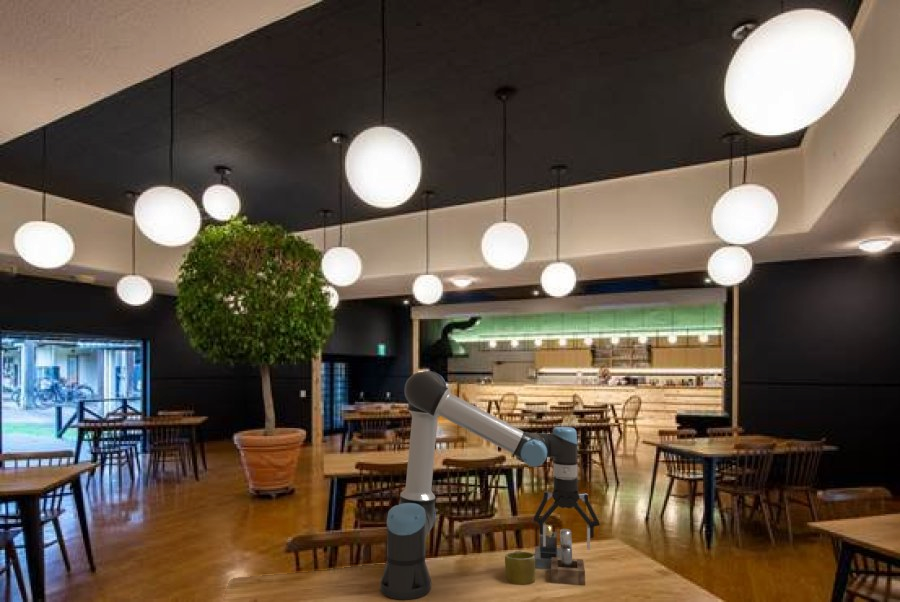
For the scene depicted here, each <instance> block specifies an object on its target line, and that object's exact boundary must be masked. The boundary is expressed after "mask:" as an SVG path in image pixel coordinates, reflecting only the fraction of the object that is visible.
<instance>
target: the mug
mask: <svg viewBox="0 0 900 602" xmlns="http://www.w3.org/2000/svg"><path fill="white" fill-rule="evenodd" d="M504 567H505V574H506V579H507V581H508V582H509V583H512V584H514V585H516V586H517V585H518V586H528V585H532V584H534V583H535V582H536V569H535V554H534V553H532V552H527V551H521V550H517V551H516V550H515V552H508V553H506V554H505V557H504Z"/></svg>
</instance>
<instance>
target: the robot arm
mask: <svg viewBox="0 0 900 602" xmlns="http://www.w3.org/2000/svg"><path fill="white" fill-rule="evenodd" d="M404 396H405V398H406V400H407V402H408V412H409V413H410V414H411V426H410V437H409V446H408V457H407V458H408V459H407V468H406V469H407V470H406V479H405V480H406V481H405V488H404V490H403V491H401V492H400V493H399V494H400V495H399V503H398V505H396V504H395V505H394V506H392V507H391V508H390V509H389V510H388V512H387V519H386V563H385V566H384V570H383V573H382V576H381V580H380V593H381V594H382V595H383V596H385V597H387V598H390V599H394V600H403V601H404V600H405V601H406V600H414V599H418V598H422V597H424V596H426V595H428V593H430V592H431V589H432V579H431V575H430V573H429V570H428V566H427V563H426V539H427V536H428V535H429V532H431V530H432V529H433V527H434V525H435V523H436V518H437V515H436V514H437V512H436V511H437V510H436V507H435V504H436V495H435V494H434V493H433V491H432V489H433V488H432V487H433V486H432V485H433V476H434V474H433V473H434V465H435V464H434V462H435V453H436V452H435V451H436V443H437V442H436V441H437V431H438V430H437V429H438V419H439V417H442V418H444V419H446V420H447V421H449V422H451V423H453V424H455V425H457V426H458V427H460V428H463V429H464V430H467V431H468V432H469V433H472V434H474V435H476V436H478V437H480V438H482V439H483V440H485V441H487V442H490V443H491V444H493V445H495V446H497V447H499V448H500V449H502V450H505V451H506V452H508V453H510V454H512V455H513V456H515V457H516V458H519V459H520V460H522V461H523V462H524V464H526V465H527V466H530V467H533V468H534V467H535V468H537V467H540V466H541V465H543V464H544V463H545V461H546V459H547V458H549V459H550V458H553V476H554V477H553V491H552V492H550V491H548V490H544V491H543V497H542V500H541V502H540V503H539V506H538V508H537V509H536V511H535V514H534V516H533V522H536V523H538V527H539V528H538V529H539V531H538V533H539V535H540V534H543V546H545V547H546V525H547V524H546V521H547V519H549V517H550V516H552V514H553V513H554V511H556V509H557V508H558V507H559V508H561V509H564V508H565V509H566V508H567V509H572V508H574V509H575V510H576V511H577V512H578V514H579V515H580V517H581V518H582V519H583V520H584V522H586V548H587V550H588V551H591V539H593V538H594V536H595V534H594V530H595V527H599V526H600V521H599V519H598V517H597V515H596V512H595V511H594V509H593V507H592V504H591V503H590V501H589V494H588V493H587V492H584V493H579V486H578V485H579V481H578V468H579V467H578V436H577V435H578V434H577V430H576V429H575V428H574V427H569V426H555V427H554V428H553V430H552V432H550V433H545V432H543V433H541V432H540V433H539V432H528V431H526V432H525V431H523V430H521V429H519V428H517V427H516V426H514V425H512V424H510V423H508V422H505V421H504V420H502V419H500V418H499V417H496V416H494V415H492V414H491V413H489V412H487V411H485V410H483V409H481V408H479V407H477V406H476V405H473V404H472V403H470V402H468V401H466V400H464V399H463V398H460V397H459V396H456V395H454V394H453V393H452V392H451V389H450V388H448V386H447V383H446V381H445V379H444V377H443V376H442V375H440V374H439V373H437V372H435V371H431V370H424V371H419V372H415V373H413V374H412V375H411V376H410V377H408V379H407V380H406V382H405V384H404ZM550 498H553V500H554V502H553V503H552V505H550V506H549V507H548V509H547V510H546V511H545V512H544V513H543V514H542V511H543V510H544V508H545V507H546V506H545V505H546V504H547V502H548V500H550ZM580 499H581V501H582V502H584V503H585V505H586V507H587V510H588V512H589V514H590V515H591V516H590V517H591V518H592V519H590V517H589V516H588V514H587V513H585V511H584V510H583V508H581V506H580V504H579V503H578V501H579V500H580ZM541 514H542V516H541ZM540 516H541V517H540ZM592 520H593V521H592Z"/></svg>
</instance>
